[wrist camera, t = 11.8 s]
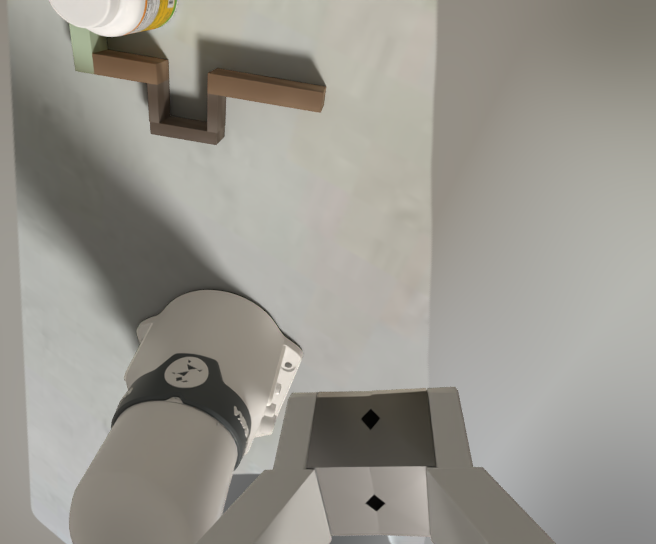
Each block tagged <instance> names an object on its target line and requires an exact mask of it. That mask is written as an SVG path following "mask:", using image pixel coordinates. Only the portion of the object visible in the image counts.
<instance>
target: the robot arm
mask: <svg viewBox="0 0 656 544" xmlns="http://www.w3.org/2000/svg"><path fill="white" fill-rule="evenodd" d="M136 333H137V337H138V340H139V342H140V346H139V348H138V349H137V351H136V353H135V355H134V357H133V359H132V361H131V363H130V365H129V367H128V369H127V371H126V373H125V376H124V380H125V381H126V384H127V388H128V391H127V392H126V394H125V395H124V396H123V398H122V399H121V401H120V403H119V405H118V408H117V410H116V413H115V415H114V417H113V419H112V424H111V430H110V432H109V434H108V436H107V437H106V439H105V441H104V442H103V444H102V446H101V447H100V449H99V451H98V452H97V454H96V456H95V457H94V459H93V461H92V462H91V464H90V466H89V468H88V469H87V471H86V473H85V474H84V476H83V478H82V479H81V481H80V483H79V484H78V486H77V488H76V490H75V492H74V495H73V498H72V503H71V507H70V515H69V530H70V536H71V539H72V542H73V544H329V543H330V541H331V540H332V539H331V536H350V535H351V536H352V535H395V536H422V537H431V541H432V542H433V544H556V543H555V542H554V541H553V540H552V539H551V538H550V537H549V536H548V535H547V534H546V533H545V531H544V530H543V529H541V527H540V526H539V525H538V524H537V523H536V522H535V521H534V520H533V519H532V518H531V517H530V516H529V515H528V514H527V513H526V512H525V511H524V510H523V509H522V508H521V507H520V506H519V505H518V504H517V502H516V501H515V500H514V499H513V498H512V497H511V496H510V495H509V494H508V493H507V492H506V491H505V490H504V489H503V488H502V487H501V486H500V485H499V484H498V483H497V482H496V481H495V480H494V479H493V477H491V475H489V473H488V472H487V471H486V470H485V469H484V468H483V467H473V464H472V459H471V454H470V449H469V443H468V439H467V433H466V429H465V423H464V418H463V413H462V409H461V404H460V398H459V393H458V390H457V389H456V387H440V388H427V390H426V388H417V389H396V390H375V391H348V392H310V393H292V394H291V395H290V397H289V399H288V402H287V407H286V411H285V416H284V420H283V425H282V430H281V434H280V439H279V444H278V448H277V453H276V457H275V462H274V467H273V470H264V471H263V472H262V473H261V474H260V476H259V477H258V478H257V479H256V480H255V481H254V482H253V483H252V484H251V485H250V486H249V487H248V488H247V489H246V490H245V491H244V493H243V494H242V495H241V496H240V497H239V498H238V499H237V500H236V501H235V502H234V503H233V504H232V505H231V506H230V508H229V509H228V510H227V511H226V512H225V513H224V514H223V515H222V513H223V509H224V505H225V501H226V497H227V493H228V489H229V485H230V482H231V478H232V475H233V471H234V470H235V469H236V468H237V467H238V465H239V464H240V461H241V460H242V458H243V456H244V455H245V454H247V453H248V452H249V449H250V447H251V444H252V442H253V440H254V437H260V436H264V435H271V434H272V432H273V429H274V425H275V422H276V418H277V416H278V413H279V411H280V409H281V407H282V404H283V402H284V400H285V397H286V395H287V393H288V390H289V388H290V386H291V384H292V381H293V379H294V377H295V374H296V372H297V370H298V368H299V365H300V363H301V360H302V358H303V352H302V350H301V349H300V348H299V347H298V346H297V345H296V344H294V343H293V342H292V341H290V340H289V339H287V338H286V337H285V336H284V335H283V334H282V333H281V331H280V330H279V328H278V327H277V325H276V324H275V322H274V321H273V319H272V318H271V317H270V316H269V315H268V314H267V313H266V312H265V311H264V310H263V309H261V308H260V307H259V306H257V305H256V304H254V303H253V302H251V301H249V300H247V299H245V298H243V297H241V296H238V295H235V294H232V293H229V292H224V291H218V290H199V291H193V292H189V293H186V294H184V295H181V296H179V297H177V298H176V299H174V300H173V301H172V302H170V303H169V304H168V305H167V306H166V308H165V309H164V310H163V311H162V312H161V313H160V314H159V315H157V316H154V317H151V318H148V319H146V320H144V321H142V322H141V323H140V324H139V326H138V328H137V331H136ZM287 362H289V363H290V364H289V363H287Z"/></svg>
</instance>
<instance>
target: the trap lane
mask: <svg viewBox="0 0 656 544" xmlns="http://www.w3.org/2000/svg"><path fill="white" fill-rule="evenodd" d="M69 27H70V34H71V42H72V49H73V57H74V64H75V71H79V72H84V73H90V74H96V75H102V76H108V77H114V78H120V79H126V80H131V81H137V82H143V83H147V90H148V107H149V122H150V130H151V134H155V135H160V136H166V137H172V138H178V139H184V140H190V141H196V142H202V143H207V144H213V145H217V144H218V143H219V142H220V140H221V139H222V138H223V137H224V133H225V116H226V97H231V98H237V99H243V100H249V101H255V102H261V103H267V104H273V105H278V106H284V107H290V108H296V109H302V110H308V111H314V112H320V113H321V111H322V108H323V106H324V100H325V92H326V87H325V86H320V85H314V84H308V83H302V82H296V81H290V80H284V79H278V78H273V77H267V76H261V75H255V74H249V73H243V72H237V71H231V70H225V69H220V68H216V69H214V70H212V71H211V72H209V73H208V83H207V122H204V121H198V120H192V119H186V118H180V117H174V116H170V89H169V61H168V60H167V59H161V58H155V57H149V56H143V55H137V54H131V53H126V52H120V51H114V50H108V47H107V37H106V36H101V35H98V34H95V33H93V32H91V31H89V30H88V29H86V28H80V27H77V26H74V25H72V24H70V23H69Z"/></svg>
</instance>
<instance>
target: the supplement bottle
mask: <svg viewBox="0 0 656 544" xmlns="http://www.w3.org/2000/svg"><path fill="white" fill-rule="evenodd" d="M49 2H50V4H51V5H52V7H53V8H54V10H55V11H56V12H57V13H58V14H59V15H60V16H61V17H62V18H63V19H64V20H66V21H67V22H68V23H70V24H72V25H74V26H77V27H80V28H86V29H88V30H89V31H91V32H93V33H95V34H98V35H101V36H107V37H116V36H122V35H127V34H131V33H136V32H141V31H146V30H151V29H155V28H159V27H161V26H163V25H165V24H166V23H167V22H169V21H170V20H171V18H172V17H173V16H174V14H175V12H176V9H177V6H178V0H49Z"/></svg>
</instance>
